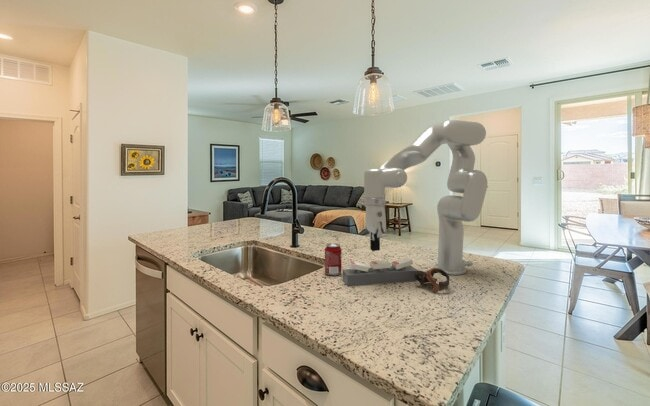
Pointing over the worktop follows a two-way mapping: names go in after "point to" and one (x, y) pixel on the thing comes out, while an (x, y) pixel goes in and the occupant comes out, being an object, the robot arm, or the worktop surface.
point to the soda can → (333, 259)
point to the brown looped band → (432, 279)
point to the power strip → (378, 276)
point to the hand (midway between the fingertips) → (375, 250)
